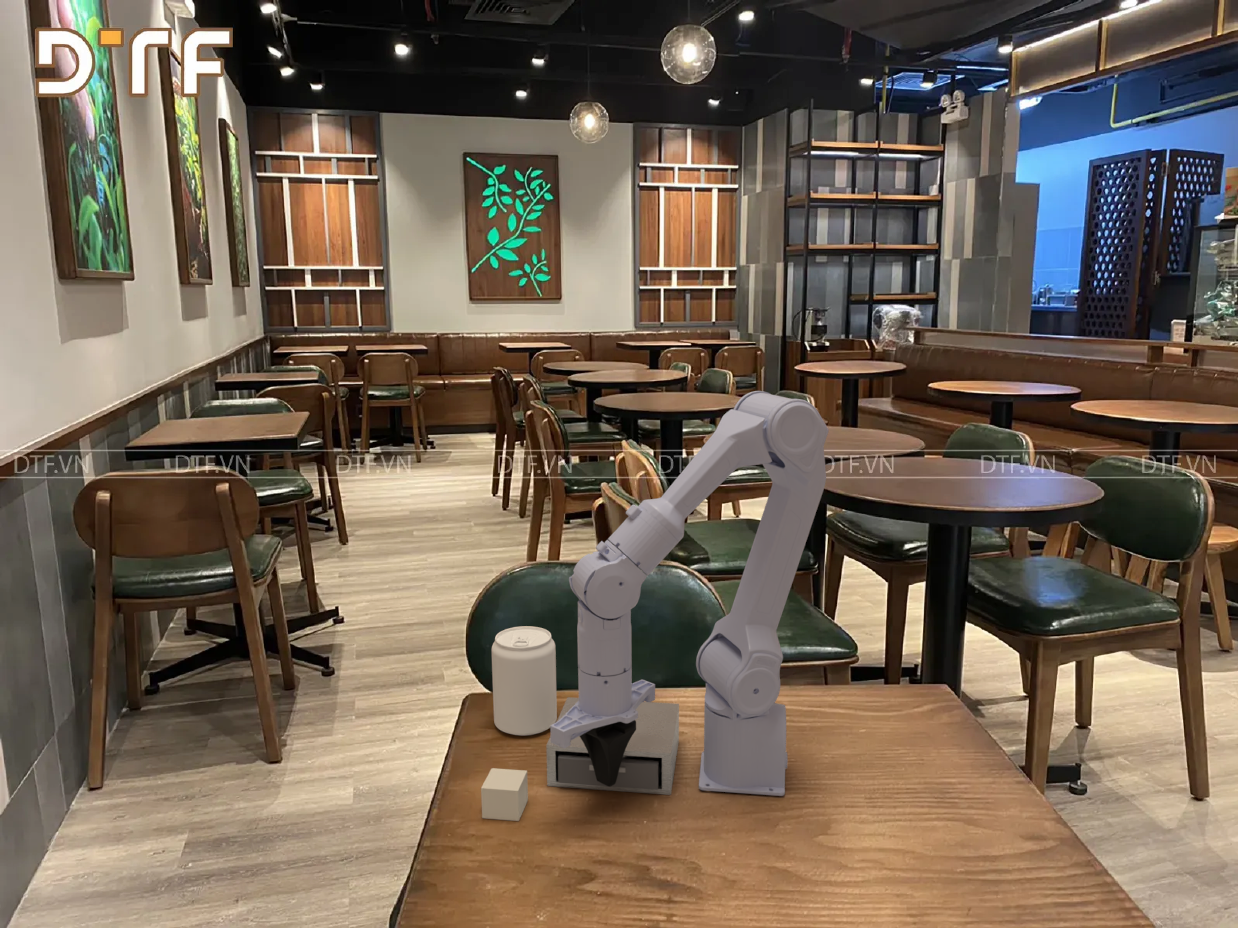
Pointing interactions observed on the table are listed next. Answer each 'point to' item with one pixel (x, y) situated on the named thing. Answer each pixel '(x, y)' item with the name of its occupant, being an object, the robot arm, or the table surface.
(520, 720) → the beverage can
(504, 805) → the riser block
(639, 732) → the box
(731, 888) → the table surface
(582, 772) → the tray
